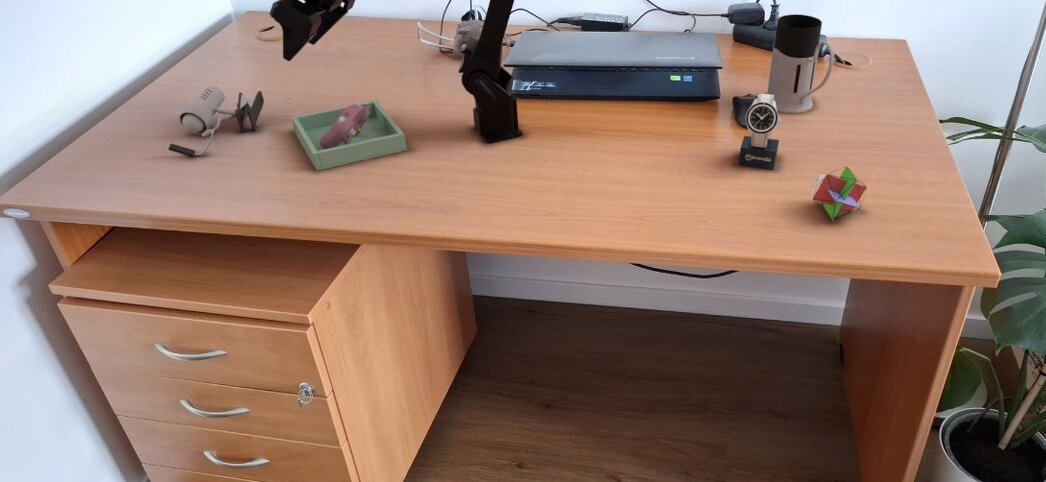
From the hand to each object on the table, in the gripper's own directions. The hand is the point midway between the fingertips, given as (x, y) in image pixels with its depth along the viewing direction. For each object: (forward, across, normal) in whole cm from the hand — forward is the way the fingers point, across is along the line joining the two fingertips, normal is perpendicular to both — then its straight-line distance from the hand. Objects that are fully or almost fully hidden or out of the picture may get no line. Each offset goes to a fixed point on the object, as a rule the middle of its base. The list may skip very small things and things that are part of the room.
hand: (299, 51), depth 130 cm
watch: (-23, +1, +72) cm, 75 cm away
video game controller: (+9, +1, +13) cm, 16 cm away
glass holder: (-28, -20, +78) cm, 85 cm away
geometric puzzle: (-27, +16, +81) cm, 87 cm away
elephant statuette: (+1, -40, +23) cm, 47 cm away
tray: (+10, +1, +13) cm, 16 cm away
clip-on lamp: (+21, +1, -7) cm, 22 cm away
